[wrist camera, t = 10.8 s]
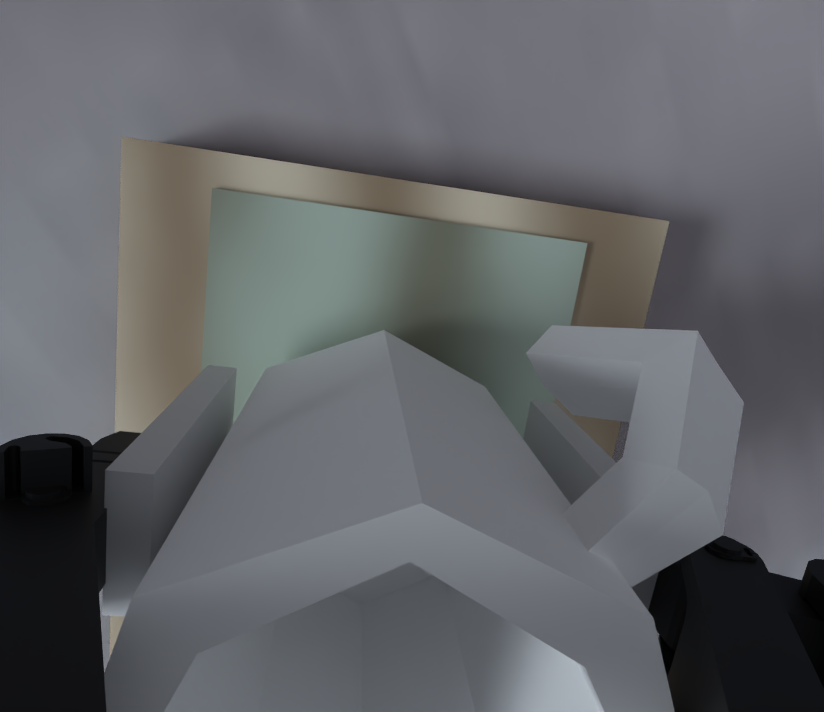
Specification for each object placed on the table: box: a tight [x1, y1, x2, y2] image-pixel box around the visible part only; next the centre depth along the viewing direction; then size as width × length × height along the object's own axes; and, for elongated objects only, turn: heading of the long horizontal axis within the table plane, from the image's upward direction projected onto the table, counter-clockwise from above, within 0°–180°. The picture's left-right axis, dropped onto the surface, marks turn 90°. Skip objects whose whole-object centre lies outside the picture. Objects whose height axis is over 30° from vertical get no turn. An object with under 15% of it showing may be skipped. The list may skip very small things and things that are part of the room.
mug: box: [104, 325, 744, 712], centre depth 12 cm, size 12×9×10 cm
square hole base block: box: [110, 137, 669, 656], centre depth 18 cm, size 16×26×8 cm, turn 172°
